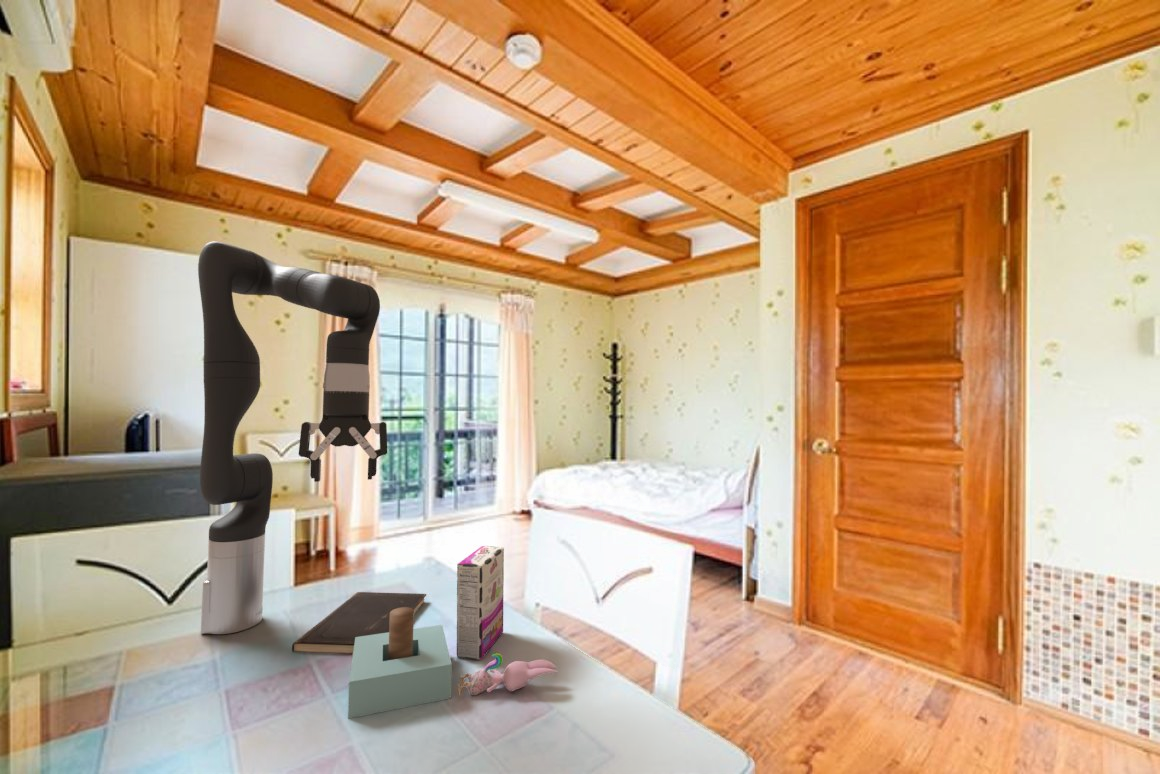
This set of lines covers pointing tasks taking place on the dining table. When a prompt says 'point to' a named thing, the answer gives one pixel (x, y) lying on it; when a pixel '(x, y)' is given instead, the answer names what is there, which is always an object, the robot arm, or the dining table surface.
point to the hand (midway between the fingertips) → (343, 480)
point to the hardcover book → (355, 621)
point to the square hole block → (399, 673)
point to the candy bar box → (479, 601)
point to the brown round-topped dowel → (401, 633)
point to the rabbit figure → (505, 675)
